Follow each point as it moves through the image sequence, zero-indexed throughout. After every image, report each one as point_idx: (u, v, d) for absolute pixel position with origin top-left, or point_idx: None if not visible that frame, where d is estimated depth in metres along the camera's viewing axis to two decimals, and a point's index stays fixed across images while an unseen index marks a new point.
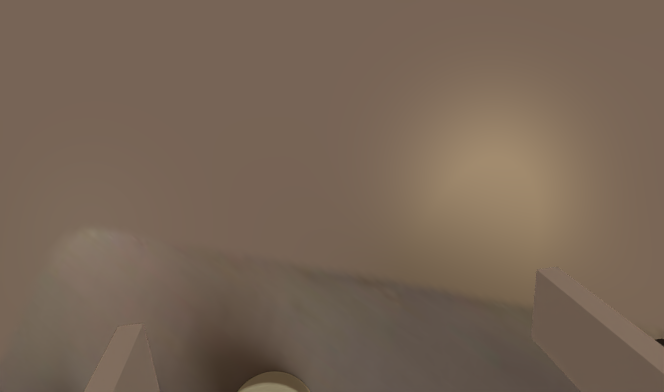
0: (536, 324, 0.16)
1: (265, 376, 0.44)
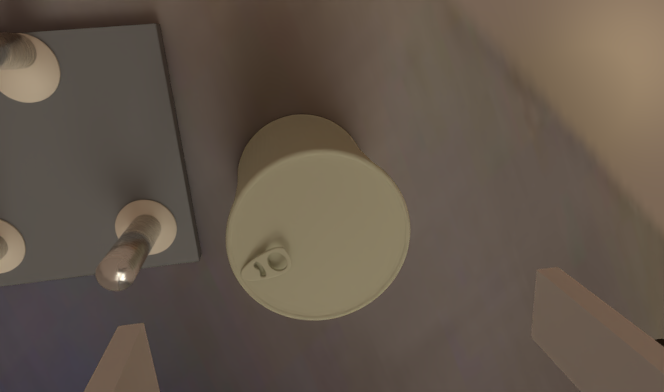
0: (536, 325, 0.16)
1: (331, 128, 0.29)
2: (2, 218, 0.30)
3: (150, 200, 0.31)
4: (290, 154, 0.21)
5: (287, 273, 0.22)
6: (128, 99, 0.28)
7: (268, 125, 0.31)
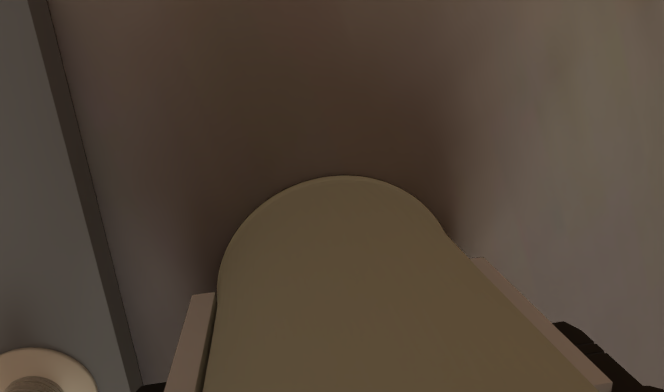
0: None
1: (414, 220, 0.13)
2: None
3: (41, 349, 0.15)
4: None
5: None
6: None
7: (277, 199, 0.16)
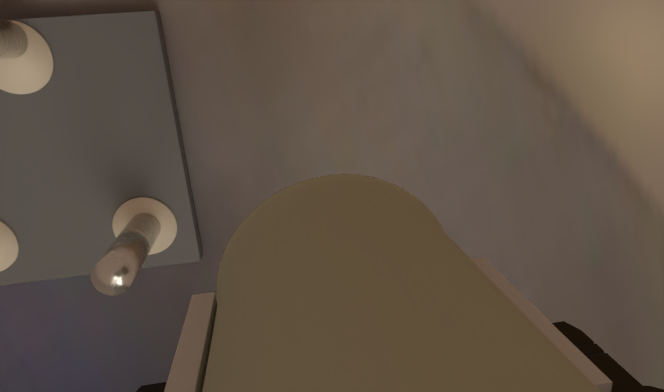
0: None
1: (413, 218, 0.13)
2: None
3: (149, 198, 0.29)
4: None
5: None
6: (126, 91, 0.27)
7: (277, 197, 0.16)
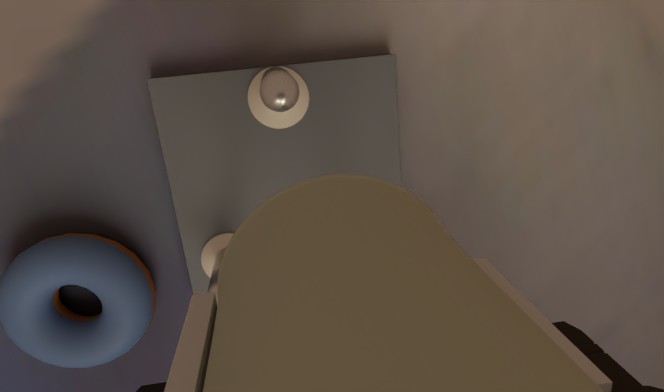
0: None
1: (415, 217, 0.13)
2: None
3: None
4: None
5: None
6: (363, 123, 0.31)
7: (277, 196, 0.16)
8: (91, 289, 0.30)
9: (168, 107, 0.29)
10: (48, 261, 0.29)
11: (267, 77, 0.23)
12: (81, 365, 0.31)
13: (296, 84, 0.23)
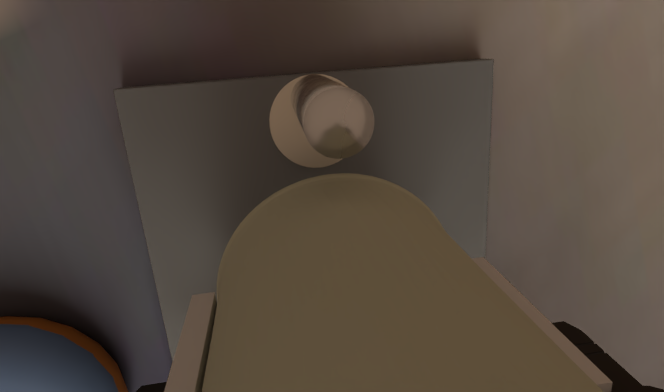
0: None
1: (414, 217, 0.13)
2: None
3: None
4: None
5: None
6: (438, 160, 0.21)
7: (276, 196, 0.16)
8: None
9: (147, 133, 0.19)
10: None
11: (319, 97, 0.12)
12: None
13: (370, 111, 0.13)
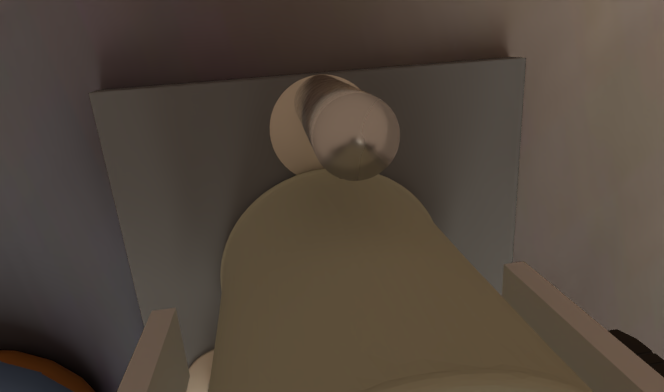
0: None
1: (403, 209, 0.15)
2: None
3: None
4: None
5: None
6: (461, 172, 0.18)
7: (276, 189, 0.17)
8: None
9: (129, 143, 0.16)
10: None
11: (332, 106, 0.10)
12: None
13: (395, 122, 0.10)
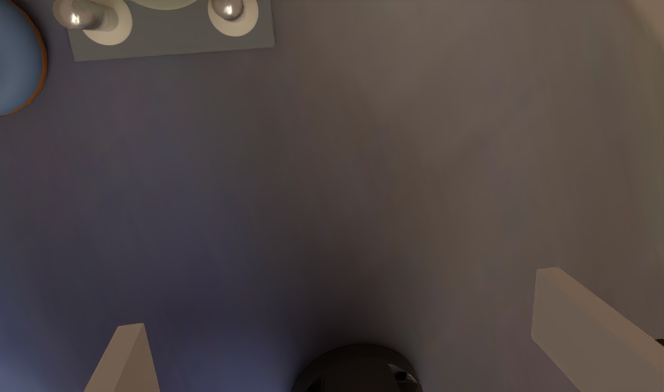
0: (536, 325, 0.16)
1: None
2: None
3: None
4: None
5: None
6: None
7: None
8: None
9: None
10: None
11: None
12: None
13: None
